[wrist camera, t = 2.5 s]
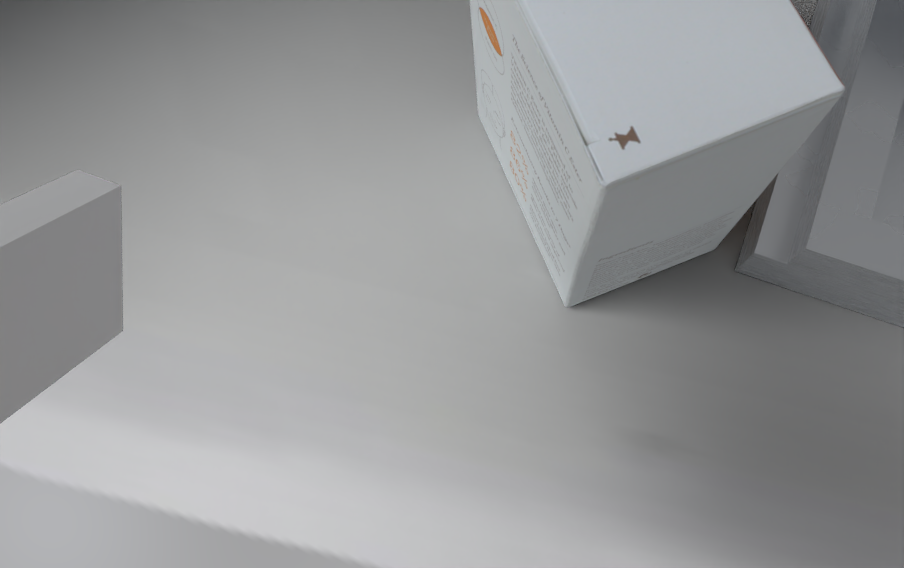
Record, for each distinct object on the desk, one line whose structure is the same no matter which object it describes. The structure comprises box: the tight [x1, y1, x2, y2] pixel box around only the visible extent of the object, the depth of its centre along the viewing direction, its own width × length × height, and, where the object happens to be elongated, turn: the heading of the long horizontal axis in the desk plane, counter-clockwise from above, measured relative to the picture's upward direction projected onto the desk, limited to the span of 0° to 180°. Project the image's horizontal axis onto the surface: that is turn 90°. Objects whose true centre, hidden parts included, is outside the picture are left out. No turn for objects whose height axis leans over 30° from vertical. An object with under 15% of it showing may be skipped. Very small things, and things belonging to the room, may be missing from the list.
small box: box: [470, 0, 845, 307], centre depth 21 cm, size 8×6×10 cm
